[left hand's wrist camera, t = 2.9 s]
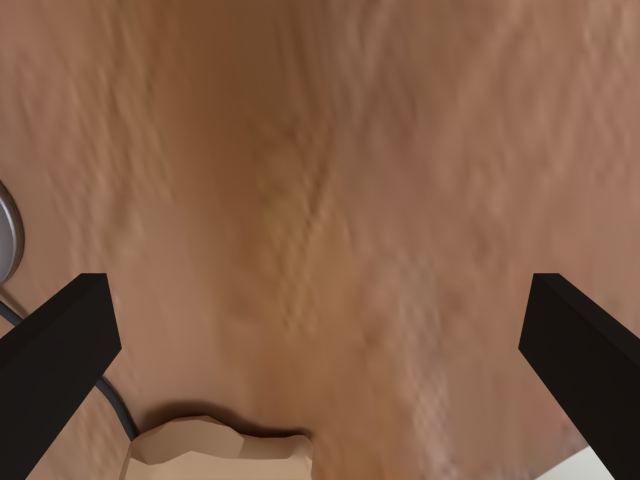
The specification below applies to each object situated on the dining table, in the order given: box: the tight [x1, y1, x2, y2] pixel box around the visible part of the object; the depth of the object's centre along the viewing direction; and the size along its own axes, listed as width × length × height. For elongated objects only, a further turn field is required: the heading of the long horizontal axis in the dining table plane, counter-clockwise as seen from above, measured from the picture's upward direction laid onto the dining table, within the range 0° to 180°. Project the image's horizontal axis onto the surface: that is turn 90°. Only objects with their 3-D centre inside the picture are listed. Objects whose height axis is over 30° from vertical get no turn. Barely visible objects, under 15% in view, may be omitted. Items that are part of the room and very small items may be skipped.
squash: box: [119, 415, 315, 480], centre depth 43 cm, size 11×20×9 cm, turn 87°
